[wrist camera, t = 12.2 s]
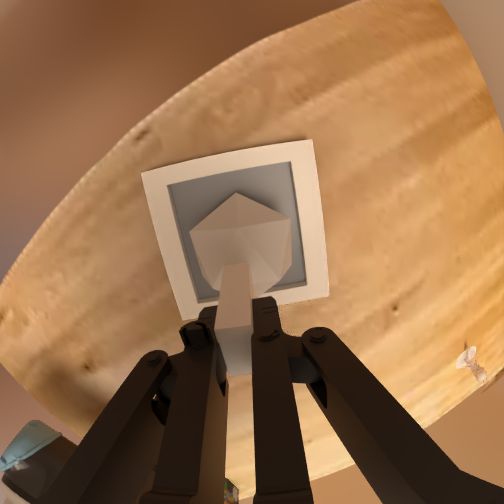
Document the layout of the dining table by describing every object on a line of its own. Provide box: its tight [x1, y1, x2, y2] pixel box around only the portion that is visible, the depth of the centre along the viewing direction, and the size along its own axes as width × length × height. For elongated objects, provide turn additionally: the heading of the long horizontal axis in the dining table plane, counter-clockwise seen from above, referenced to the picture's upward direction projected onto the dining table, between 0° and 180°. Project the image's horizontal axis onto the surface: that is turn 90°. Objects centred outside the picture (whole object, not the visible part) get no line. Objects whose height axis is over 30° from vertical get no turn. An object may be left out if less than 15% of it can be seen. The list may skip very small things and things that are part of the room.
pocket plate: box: [141, 139, 329, 320], centre depth 28 cm, size 16×16×2 cm
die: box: [189, 193, 292, 298], centre depth 24 cm, size 8×9×10 cm
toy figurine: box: [456, 346, 487, 382], centre depth 34 cm, size 5×8×7 cm, turn 34°
